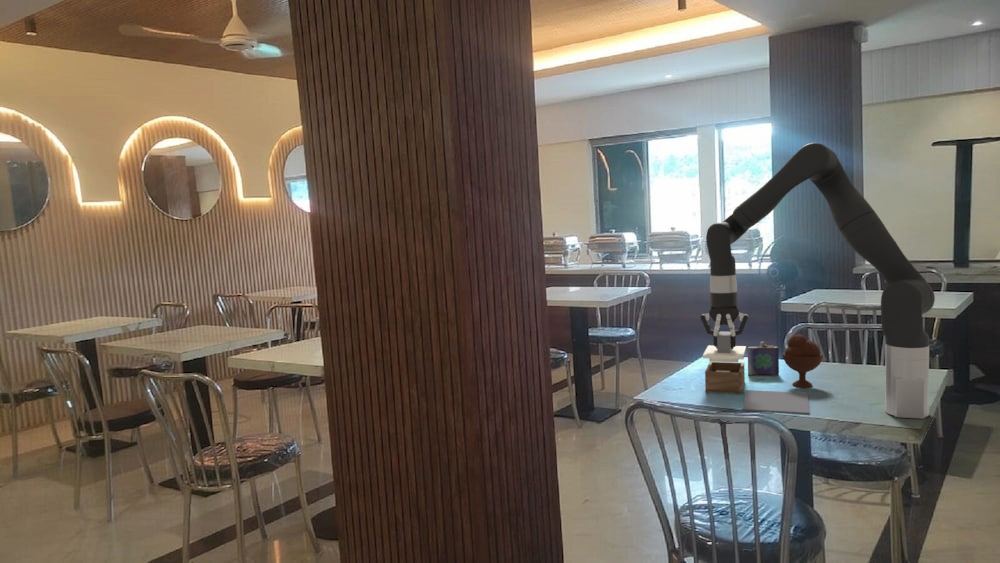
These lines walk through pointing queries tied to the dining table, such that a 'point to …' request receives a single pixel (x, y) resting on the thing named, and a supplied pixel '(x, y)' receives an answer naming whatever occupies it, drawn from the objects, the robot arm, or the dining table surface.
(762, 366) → the flask
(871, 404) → the dining table surface
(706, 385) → the storage box
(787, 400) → the rubber mat
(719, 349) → the lid
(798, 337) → the ice cream bowl
